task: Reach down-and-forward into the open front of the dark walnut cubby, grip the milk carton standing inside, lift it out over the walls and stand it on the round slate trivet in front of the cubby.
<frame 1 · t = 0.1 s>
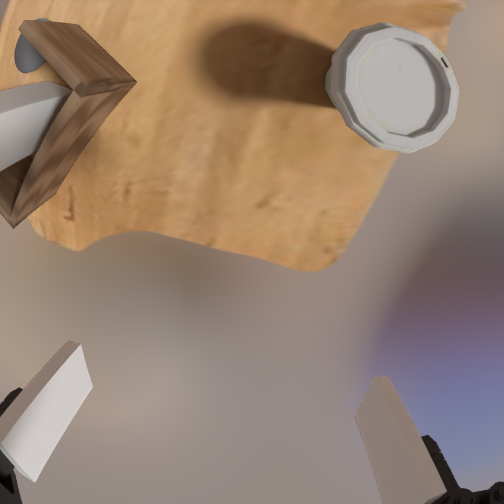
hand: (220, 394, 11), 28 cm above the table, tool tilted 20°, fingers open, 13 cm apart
slate trivet: (34, 45, 21), on the table
milk carton: (56, 108, 28), on the table
disposable coffee cup: (348, 83, 26), on the table
walnut cubby: (59, 112, 28), on the table
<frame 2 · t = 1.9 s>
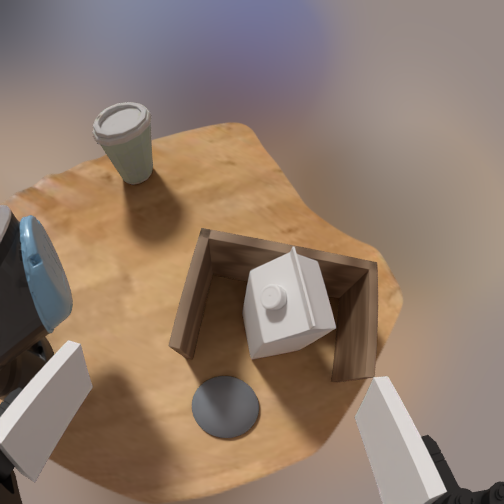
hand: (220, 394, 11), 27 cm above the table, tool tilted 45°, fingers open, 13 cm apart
slate trivet: (225, 407, 33), on the table
milk carton: (270, 332, 39), on the table
disposable coffee cup: (137, 175, 51), on the table
walnut cubby: (271, 325, 39), on the table
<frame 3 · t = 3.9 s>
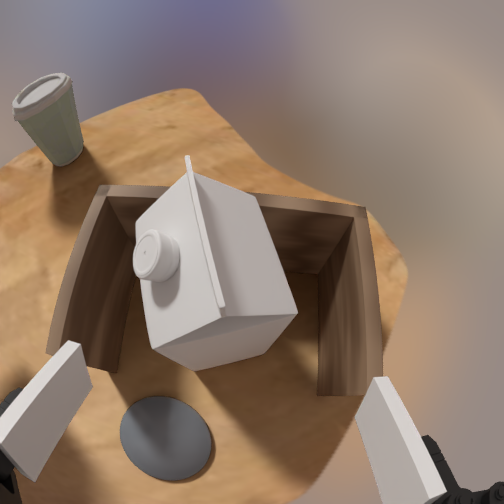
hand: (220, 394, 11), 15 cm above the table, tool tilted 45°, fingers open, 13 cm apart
slate trivet: (164, 439, 21), on the table
milk carton: (219, 330, 27), on the table
disposable coffee cup: (68, 156, 38), on the table
walnut cubby: (220, 320, 27), on the table
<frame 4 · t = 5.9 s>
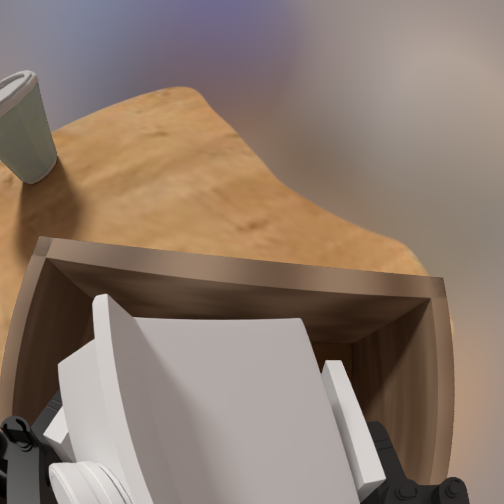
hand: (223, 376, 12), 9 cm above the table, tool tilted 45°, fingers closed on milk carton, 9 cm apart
milk carton: (223, 422, 18), on the table, touching gripper
disposable coffee cup: (40, 170, 30), on the table
walnut cubby: (224, 410, 18), on the table
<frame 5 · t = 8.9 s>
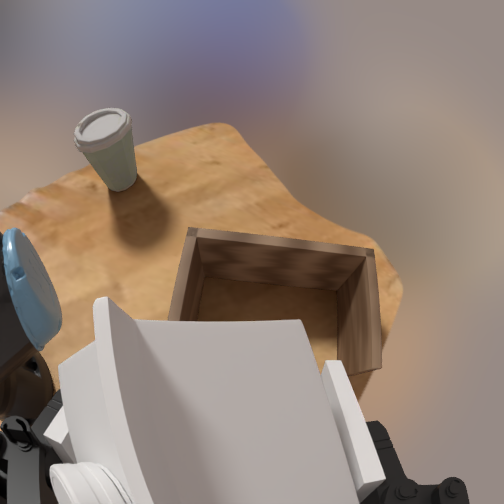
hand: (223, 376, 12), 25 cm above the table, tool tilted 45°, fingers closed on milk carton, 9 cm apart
milk carton: (223, 422, 18), point 16 cm above the table, touching gripper
disposable coffee cup: (122, 181, 49), on the table
walnut cubby: (269, 323, 38), on the table
when the fingers open (10 cm above the table, at t = 12.1 s): milk carton stays where it is, resting on slate trivet.
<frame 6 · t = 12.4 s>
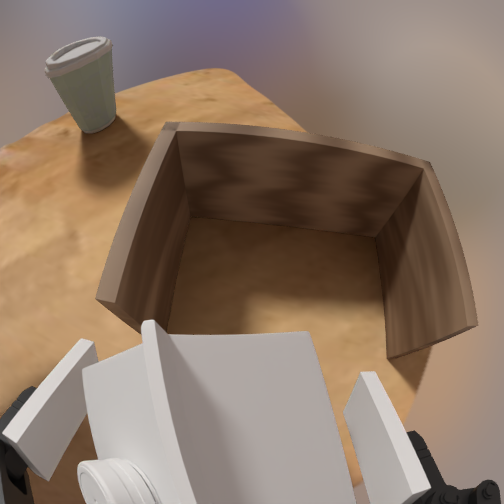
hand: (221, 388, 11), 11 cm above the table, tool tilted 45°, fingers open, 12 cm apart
milk carton: (228, 422, 19), resting on slate trivet
disposable coffee cup: (98, 124, 37), on the table
walnut cubby: (285, 280, 26), on the table
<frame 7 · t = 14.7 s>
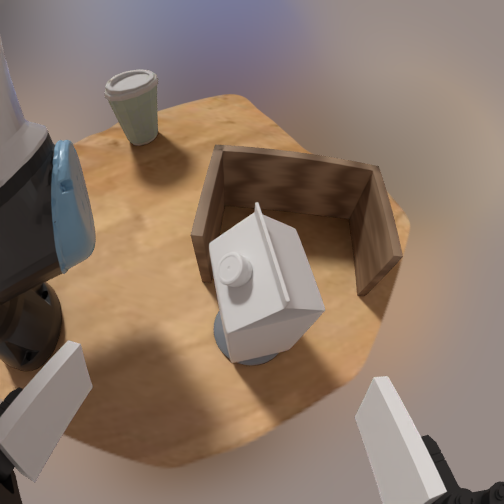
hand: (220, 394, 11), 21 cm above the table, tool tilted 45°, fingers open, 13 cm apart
slate trivet: (250, 329, 34), on the table
milk carton: (253, 329, 33), resting on slate trivet
disposable coffee cup: (143, 138, 52), on the table
walnut cubby: (288, 244, 40), on the table
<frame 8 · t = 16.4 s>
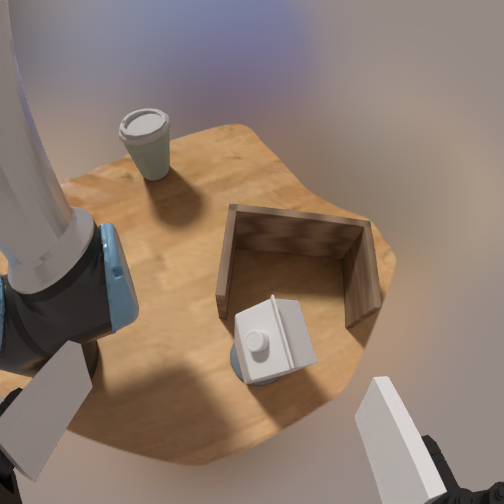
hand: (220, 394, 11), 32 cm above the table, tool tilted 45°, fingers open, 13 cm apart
slate trivet: (259, 357, 41), on the table
milk carton: (261, 357, 41), resting on slate trivet
disposable coffee cup: (155, 172, 59), on the table
walnut cubby: (289, 284, 48), on the table
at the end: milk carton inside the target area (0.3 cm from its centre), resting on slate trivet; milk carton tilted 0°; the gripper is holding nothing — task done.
